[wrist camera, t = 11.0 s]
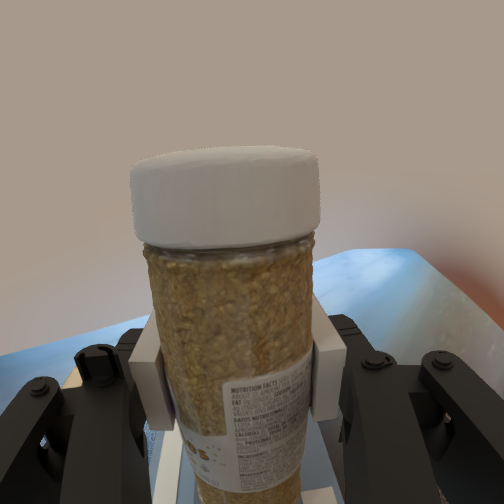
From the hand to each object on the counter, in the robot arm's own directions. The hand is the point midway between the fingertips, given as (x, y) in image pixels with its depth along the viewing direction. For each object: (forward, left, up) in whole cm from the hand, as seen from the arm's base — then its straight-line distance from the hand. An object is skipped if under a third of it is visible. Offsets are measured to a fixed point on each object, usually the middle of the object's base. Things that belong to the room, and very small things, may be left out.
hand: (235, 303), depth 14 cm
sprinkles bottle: (0, -5, -7) cm, 9 cm away
